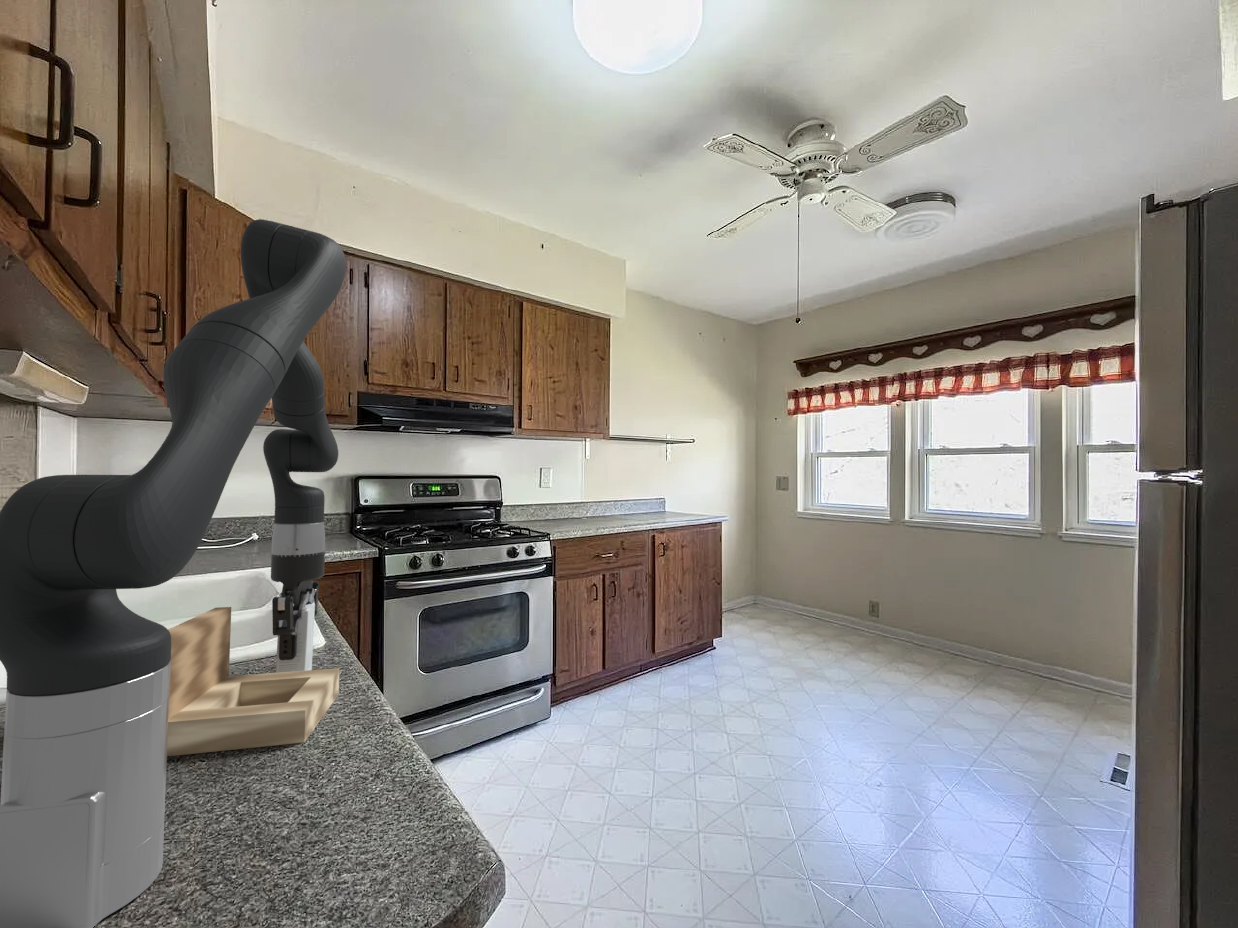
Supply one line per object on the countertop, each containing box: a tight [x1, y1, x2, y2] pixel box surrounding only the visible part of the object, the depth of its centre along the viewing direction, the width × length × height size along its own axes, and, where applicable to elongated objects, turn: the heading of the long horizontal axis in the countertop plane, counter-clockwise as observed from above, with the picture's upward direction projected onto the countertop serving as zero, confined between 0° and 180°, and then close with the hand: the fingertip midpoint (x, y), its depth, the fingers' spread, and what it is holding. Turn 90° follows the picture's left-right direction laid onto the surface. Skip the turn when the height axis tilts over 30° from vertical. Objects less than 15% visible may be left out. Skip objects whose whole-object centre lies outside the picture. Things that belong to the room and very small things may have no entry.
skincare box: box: [275, 603, 315, 673], centre depth 85 cm, size 6×4×12 cm
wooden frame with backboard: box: [167, 606, 340, 757], centre depth 70 cm, size 16×17×14 cm
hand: (295, 651), depth 85 cm, fingers closed on skincare box, 6 cm apart
